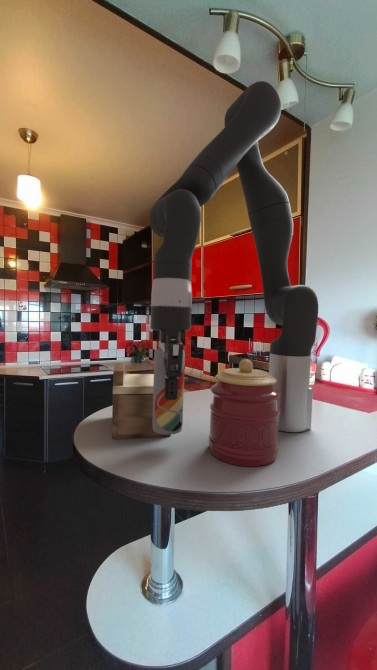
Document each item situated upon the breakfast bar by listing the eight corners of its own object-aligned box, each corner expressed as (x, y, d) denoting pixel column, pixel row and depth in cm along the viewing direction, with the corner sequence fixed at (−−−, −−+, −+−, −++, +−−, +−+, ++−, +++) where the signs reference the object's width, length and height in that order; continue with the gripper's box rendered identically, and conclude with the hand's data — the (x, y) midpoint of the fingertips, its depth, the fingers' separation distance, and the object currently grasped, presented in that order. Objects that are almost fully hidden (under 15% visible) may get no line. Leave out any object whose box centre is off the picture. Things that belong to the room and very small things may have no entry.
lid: (163, 379, 77) (164, 362, 76) (171, 393, 63) (172, 371, 63) (115, 380, 74) (115, 362, 74) (112, 394, 61) (113, 372, 60)
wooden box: (162, 415, 77) (163, 380, 77) (170, 436, 63) (171, 394, 63) (114, 416, 75) (115, 381, 74) (111, 439, 61) (112, 395, 61)
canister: (283, 472, 50) (288, 366, 49) (204, 463, 52) (208, 362, 51) (273, 441, 63) (277, 356, 62) (211, 435, 65) (214, 353, 64)
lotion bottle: (178, 436, 54) (181, 324, 53) (148, 433, 55) (150, 323, 54) (185, 426, 59) (188, 324, 58) (157, 423, 60) (160, 323, 59)
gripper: (200, 304, 50) (196, 405, 51) (184, 307, 64) (181, 386, 65) (154, 302, 48) (151, 406, 49) (148, 305, 62) (146, 387, 63)
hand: (168, 394), depth 57 cm, fingers closed on lotion bottle, 5 cm apart
